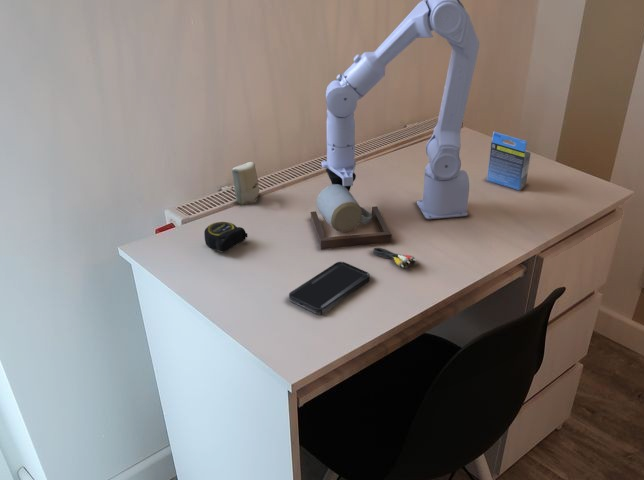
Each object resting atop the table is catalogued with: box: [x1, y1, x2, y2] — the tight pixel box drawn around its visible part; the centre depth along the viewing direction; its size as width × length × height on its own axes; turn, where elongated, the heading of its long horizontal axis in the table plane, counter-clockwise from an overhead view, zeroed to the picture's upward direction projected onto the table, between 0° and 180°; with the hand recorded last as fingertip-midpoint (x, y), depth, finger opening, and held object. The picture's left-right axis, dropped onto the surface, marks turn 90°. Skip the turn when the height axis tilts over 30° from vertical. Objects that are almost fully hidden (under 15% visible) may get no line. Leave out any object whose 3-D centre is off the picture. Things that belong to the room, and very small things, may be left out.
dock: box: [309, 205, 392, 250], centre depth 148 cm, size 14×12×2 cm
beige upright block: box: [231, 161, 260, 206], centre depth 155 cm, size 6×5×8 cm
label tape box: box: [486, 130, 532, 191], centre depth 167 cm, size 9×4×12 cm, turn 58°
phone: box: [288, 261, 371, 315], centre depth 131 cm, size 8×1×15 cm
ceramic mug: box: [316, 184, 373, 233], centre depth 149 cm, size 11×8×8 cm
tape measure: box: [203, 221, 248, 253], centre depth 141 cm, size 7×7×4 cm
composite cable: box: [372, 247, 417, 270], centre depth 140 cm, size 10×5×2 cm, turn 42°
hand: (341, 202), depth 155 cm, fingers closed
